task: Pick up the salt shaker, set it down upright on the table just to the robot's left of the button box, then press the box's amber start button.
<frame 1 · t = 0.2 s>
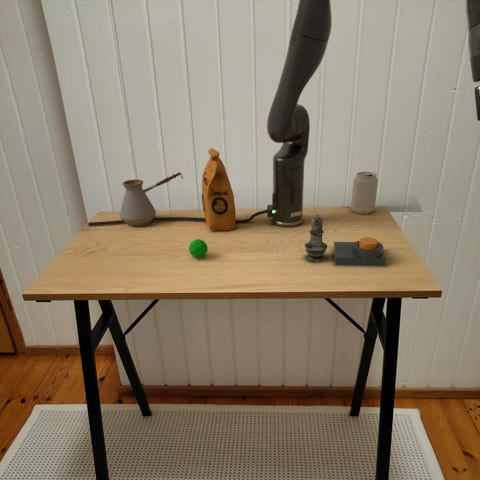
can: (362, 211, 148), on the table
button box: (357, 257, 118), on the table
start button: (368, 243, 114), point 4 cm above the table, slide at 0.1 cm
salt shaker: (315, 259, 119), on the table
coffee pot: (154, 221, 148), on the table
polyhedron: (199, 257, 123), on the table
coffee package: (220, 225, 142), on the table
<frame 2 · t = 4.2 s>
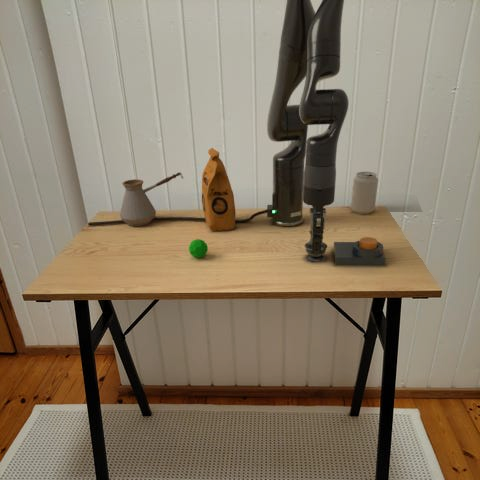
hand: (315, 247, 117), 3 cm above the table, tool pointing down, fingers closed on salt shaker, 6 cm apart
salt shaker: (315, 259, 119), on the table, touching gripper
everything else where it was.
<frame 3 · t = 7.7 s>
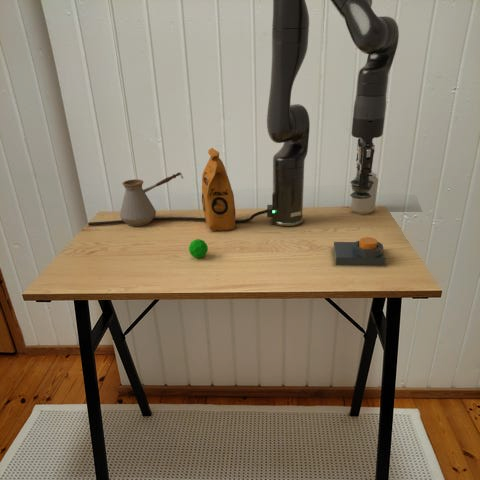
hand: (361, 184, 119), 16 cm above the table, tool pointing down, fingers closed on salt shaker, 6 cm apart
salt shaker: (360, 196, 121), point 13 cm above the table, touching gripper
everything else where it was.
when the fingers open (3 cm above the table, at t = 11.1 s): salt shaker stays where it is, on the table.
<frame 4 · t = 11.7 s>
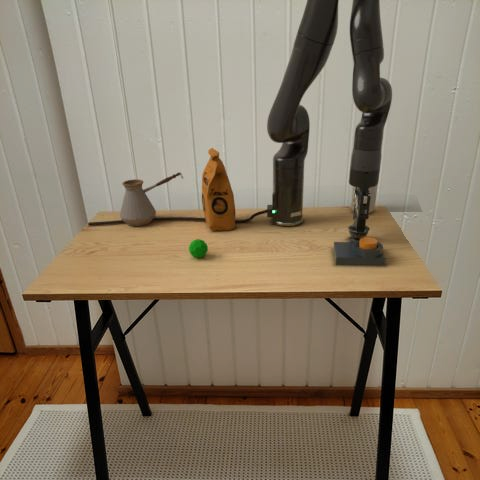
hand: (358, 225, 126), 4 cm above the table, tool pointing down, fingers open, 8 cm apart
salt shaker: (357, 240, 128), on the table
everything else where it was.
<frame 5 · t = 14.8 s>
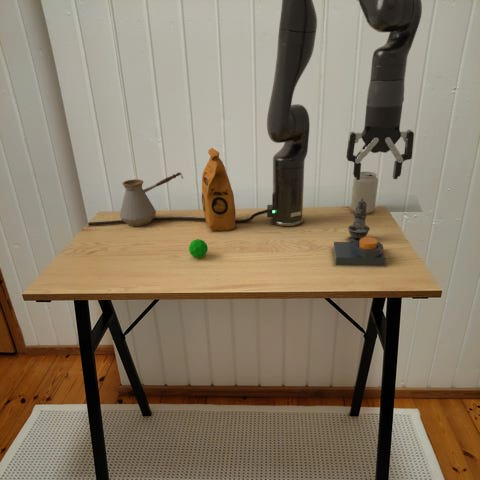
hand: (376, 178, 107), 20 cm above the table, tool pointing down, fingers open, 8 cm apart
nothing on the table moved.
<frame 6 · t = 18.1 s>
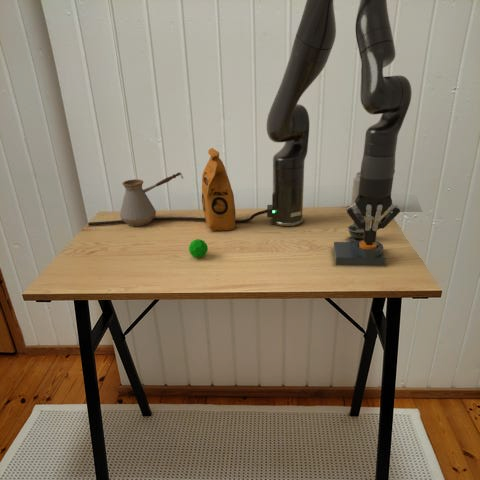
hand: (368, 243, 114), 5 cm above the table, tool pointing down, fingers closed
start button: (367, 246, 115), point 4 cm above the table, slide at -0.7 cm, touching gripper
everything else where it was.
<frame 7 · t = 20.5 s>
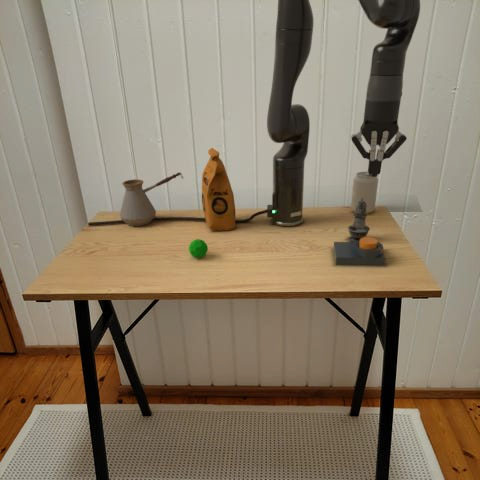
hand: (373, 175, 110), 20 cm above the table, tool pointing down, fingers closed
start button: (368, 243, 114), point 4 cm above the table, slide at 0.1 cm
everything else where it was.
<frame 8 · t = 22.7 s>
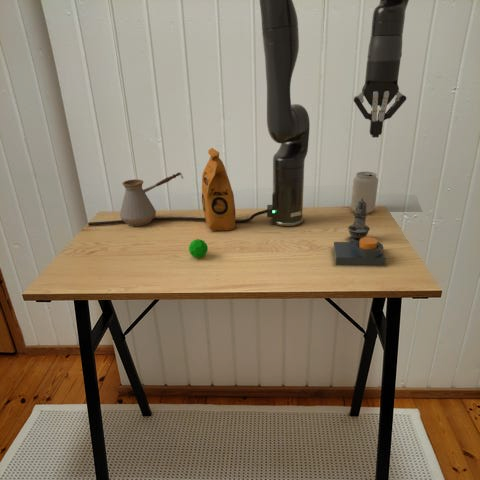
hand: (374, 136, 115), 27 cm above the table, tool pointing down, fingers closed
nothing on the table moved.
at the end: salt shaker inside the target area on the table beside the button box (1.3 cm from its centre), on the table; start button pushed in 1.1 cm at the most during the clip, back to where it started at the end; start button slide at 0.1 cm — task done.
